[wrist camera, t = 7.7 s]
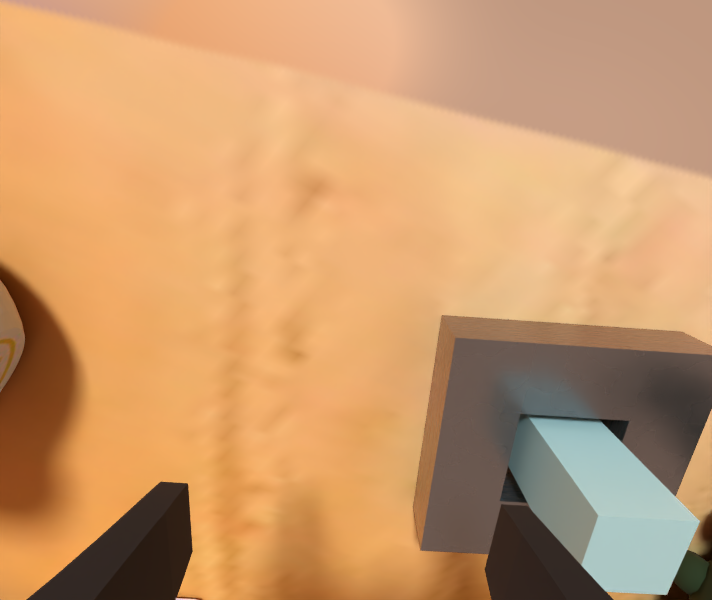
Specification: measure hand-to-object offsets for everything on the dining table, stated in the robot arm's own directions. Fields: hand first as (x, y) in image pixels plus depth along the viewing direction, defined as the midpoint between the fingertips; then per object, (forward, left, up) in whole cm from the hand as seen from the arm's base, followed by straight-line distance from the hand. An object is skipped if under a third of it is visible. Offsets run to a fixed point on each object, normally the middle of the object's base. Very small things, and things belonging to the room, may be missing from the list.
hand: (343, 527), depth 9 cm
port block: (+10, -3, -9) cm, 14 cm away
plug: (+10, -3, -9) cm, 14 cm away
